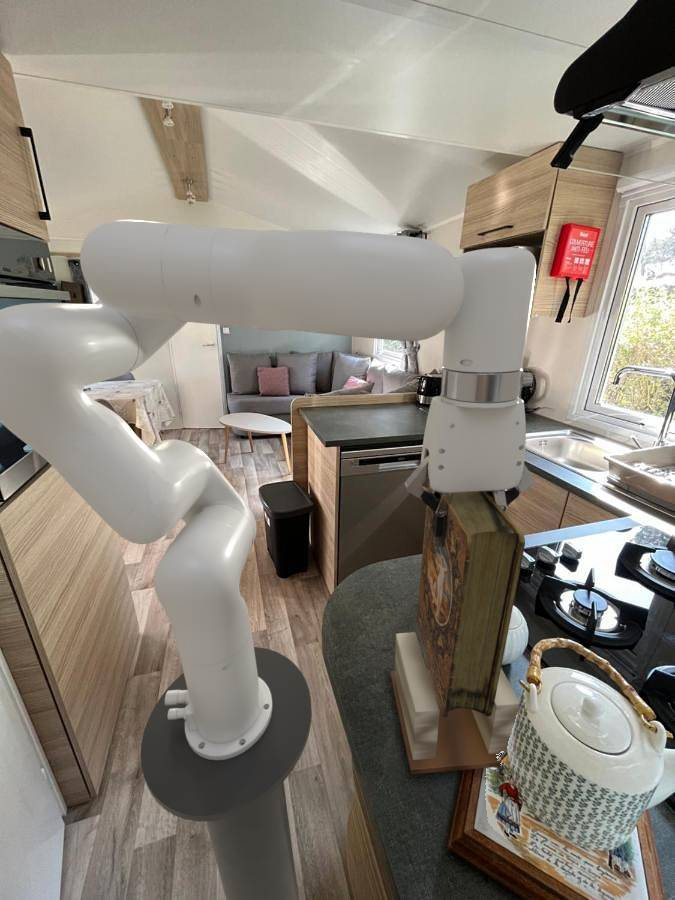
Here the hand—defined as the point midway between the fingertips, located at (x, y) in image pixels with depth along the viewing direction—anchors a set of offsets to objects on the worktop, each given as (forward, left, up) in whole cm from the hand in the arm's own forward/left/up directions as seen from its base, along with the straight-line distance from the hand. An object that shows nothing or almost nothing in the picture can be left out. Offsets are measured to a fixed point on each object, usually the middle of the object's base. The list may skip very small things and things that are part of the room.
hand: (464, 537), depth 45 cm
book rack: (0, 0, -30) cm, 30 cm away
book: (-1, 0, -20) cm, 20 cm away
